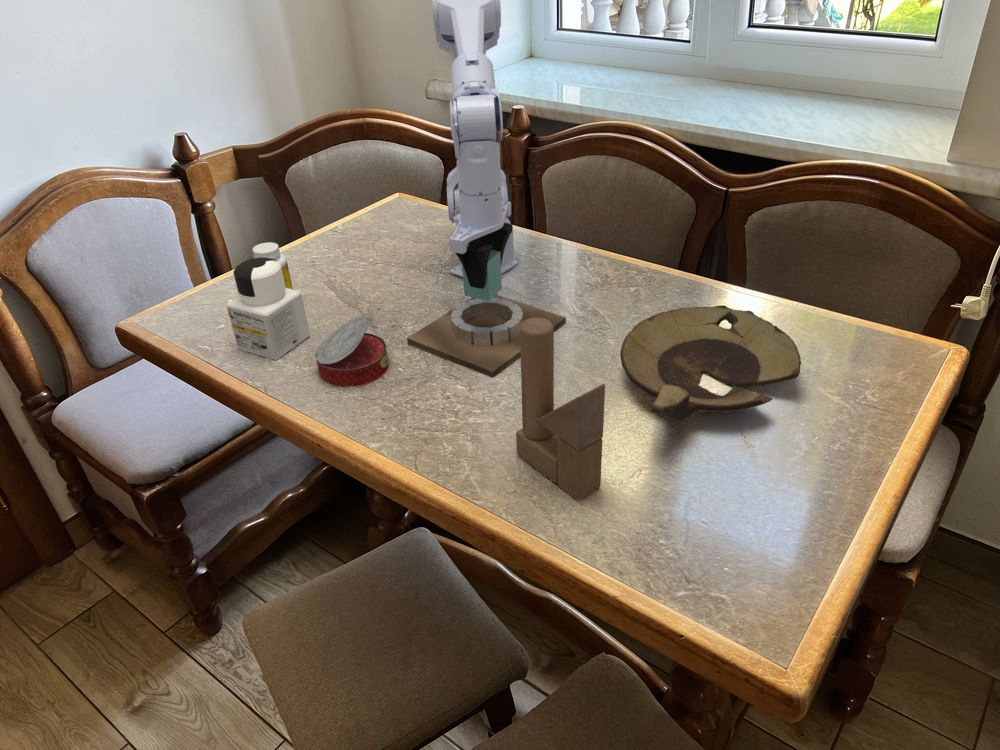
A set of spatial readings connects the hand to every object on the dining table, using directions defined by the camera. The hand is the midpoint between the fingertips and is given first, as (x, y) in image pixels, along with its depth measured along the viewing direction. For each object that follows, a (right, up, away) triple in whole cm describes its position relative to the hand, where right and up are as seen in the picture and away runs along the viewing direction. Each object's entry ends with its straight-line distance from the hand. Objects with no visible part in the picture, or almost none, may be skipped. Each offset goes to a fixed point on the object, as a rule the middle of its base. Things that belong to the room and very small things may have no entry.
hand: (484, 279), depth 111 cm
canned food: (-19, -13, -1) cm, 23 cm away
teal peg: (0, -2, +1) cm, 2 cm away
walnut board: (0, -7, +5) cm, 9 cm away
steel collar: (0, -7, +5) cm, 9 cm away
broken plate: (+27, -16, -8) cm, 33 cm away
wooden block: (+9, -25, -21) cm, 34 cm away
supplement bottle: (-34, -2, +15) cm, 37 cm away
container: (-32, -9, +5) cm, 33 cm away
